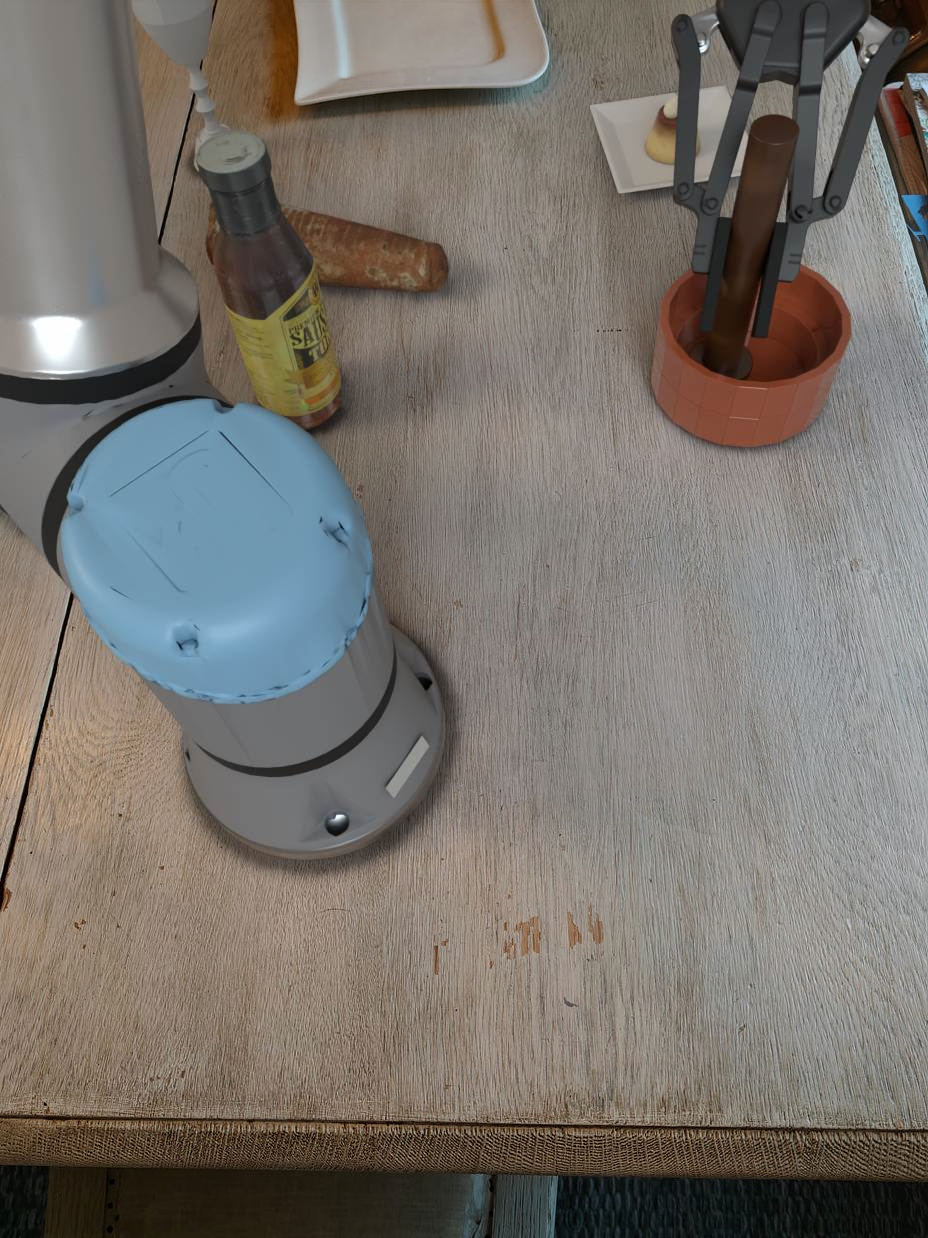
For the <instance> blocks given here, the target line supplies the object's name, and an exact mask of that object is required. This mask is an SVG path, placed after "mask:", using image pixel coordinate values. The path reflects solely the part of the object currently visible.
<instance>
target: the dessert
mask: <svg viewBox="0 0 928 1238" xmlns="http://www.w3.org/2000/svg"><path fill="white" fill-rule="evenodd" d="M731 101H732V97H731V96H730V93H729V91H728V89H727V86H726V85H725V84H724V85H717V86H710V87H704V88H700V92H699V108H698V125H697V141H696V158H695V175H694V184H696V183H703V182H708V179H709V176H710V173H711V169H712V166H713V162H714V159H715V155H716V152H717V149H718V145H719V142H720V138H721V135H722V132H723V128H724V125H725V121H726V118H727V115H728V111H729V108H730V104H731ZM677 107H678V91H677V90H674V92H670V93H663V94H662V93H661V94H656V95H650V96H649V95H648V96H643V97H635V98H628V99H622V100H615V101H608V102H601V103H594V104H590V105H589V109H590V112H591V115H592V119H593V121H594V124H595V127H596V130H597V133H598V136H599V140H600V142H601V145H602V148H603V150H604V154H605V157H606V160H607V162H608V163H607V164H608V167H609V169H610V172H611V175H612V178H613V181H614V184H615V188H616V191H617V193H618V194H621V195H622V194H628V193H635V192H643V191H648V190H649V191H650V190H655V189H662V188H669V187H673V179H674V161H675V143H676V125H677ZM748 136H749V134H748V133H747V130H746V129H745V131H744V134H743V137H742V141H741V144H740V147H739V151H738V154H737V157H736V161H735V164H734V167H733V171H732V174H731V178H736V177H740V174H741V170H742V165H743V160H744V155H745V151H746V146H747V141H748Z"/></svg>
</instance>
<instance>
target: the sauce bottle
mask: <svg viewBox="0 0 928 1238" xmlns="http://www.w3.org/2000/svg"><path fill="white" fill-rule="evenodd" d="M196 163H197V166H198V169H199V171H198V173H199V175H200V178H201V181H202V183H203V184H204V185H205V186H206V187H207V190H208V192H209V196H210V198H211V202H212V201H213V204H214V208H215V211H216V219H217V222H218V224H219V226H220V227H219V233H218V234H217V235H216V236H215V242H214V249H213V263H214V265H213V268H214V272H215V275H216V278H217V282H218V284H219V288H220V291H221V297H222V301H223V305H224V307H225V309H226V314H227V316H228V319H229V321H230V324H231V327H232V329H233V333H234V335H235V338H236V342H237V345H238V348H239V351H240V353H241V356H242V360H243V362H244V365H245V368H246V371H247V374H248V376H249V377H248V378H249V381H250V383H251V385H252V388H253V391H254V395H255V397H256V400H257V402H258V403H259V405H261V407H263V408H266V409H269V410H271V411H273V412H275V413H277V414H279V415H281V416H283V417H286V418H287V419H289V420H291V421H292V422H294V423H296V424H297V425H298V426H300V427H301V428H302V429H304V430H305V431H306V430H309V429H313V428H316V427H317V426H319V425H322V424H323V423H325V422H326V421H327V420H328V419H330V418H331V417H332V416H333V415H334V414H335V413H336V412H337V411H338V409H339V406H340V405H341V402H342V396H343V395H342V374H341V371H340V367H339V362H338V358H337V354H336V349H335V345H334V340H333V337H332V333H331V327H330V323H329V320H328V316H327V311H326V306H325V303H324V298H323V294H322V290H321V286H320V285H321V284H319V281H318V277H317V272H316V267H315V264H314V260H313V256H312V254H311V253H310V252H309V251H308V249H307V248H306V246H305V245H304V243H303V242H302V240H301V239H300V237H299V236H298V234H297V233H296V231H295V230H294V228H293V227H292V226H291V224H290V223H289V221H288V220H287V218H286V217H285V215H284V214H283V212H282V211H281V205H280V204H281V203H280V201H279V199H278V197H277V193H276V190H275V184H274V181H273V178H272V167H273V165H272V160H271V157H270V154H269V150H268V147H267V144H266V142H265V140H264V139H263V138H261V137H260V136H259V135H257V134H255V133H254V132H251V131H247V130H237V129H236V130H234V131H228V132H223V133H221V134H218V135H215V136H213V137H211V138H209V139H207V140H206V141H205V142H204V143H203V144H202V145H201V146H200V147H199V149H198V152H197V154H196Z"/></svg>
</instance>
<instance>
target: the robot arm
mask: <svg viewBox="0 0 928 1238" xmlns="http://www.w3.org/2000/svg"><path fill="white" fill-rule="evenodd" d="M714 3H715V4H714V5H713V6H710V7H708V8H706V9H704V10H702V11H700V12H697V13H695V14H693V15H691V16H690V15H688V14H686V13H679V14H677V15H676V16H675V17H674V18H673V19H672V21H671V25H670V43H671V48H672V51H673V54H674V58H675V61H676V62H675V63H676V65H677V68H678V71H679V73H678V90H677V92H678V107H677V125H676V143H675V161H674V179H673V186H672V201H673V203H674V204H676V205H677V206H680V207H683V208H686V209H687V210H689V211H690V212H692V213H693V214H694V215H695V217H696V219H697V225H696V232H695V236H694V237H695V238H694V243H693V249H692V256H691V261H690V268H691V267H692V272H693V273H694V274H704V275H708V278H707V283H706V289H705V295H704V301H703V307H702V312H701V318H700V324H699V330H698V331H699V332H708V333H711V332H712V330H713V324H714V319H715V313H716V307H717V302H718V296H719V290H720V285H721V279H722V273H723V268H724V262H725V256H726V251H727V245H728V239H729V234H730V228H731V222H732V218H731V217H728V216H721V214H722V213H721V212H722V207H723V204H724V200H725V197H726V194H727V191H728V187H729V184H730V180H731V178H732V177H731V174H732V171H733V167H734V164H735V161H736V157H737V154H738V151H739V147H740V144H741V141H742V137H743V134H744V131H745V130H746V128H747V123H748V122H749V121H748V120H749V117H750V113H751V111H752V107H753V104H754V100H755V97H756V94H757V90H758V88H759V85H760V84H766V83H771V82H775V81H778V82H781V83H784V84H786V85H788V86H792V97H791V104H792V111H791V112H792V113H791V119H793V120H794V121H795V122H796V123H797V124H798V126H799V129H800V133H799V137H798V141H797V144H796V148H795V152H794V156H793V160H792V164H791V167H790V171H789V175H788V179H787V185H786V186H787V187H786V205H785V221H776V224H775V228H774V232H773V236H772V240H771V244H770V247H769V251H768V255H767V259H766V263H765V267H764V270H763V274H762V279H761V285H760V290H759V295H758V301H757V306H756V311H755V317H754V322H753V327H752V333H751V337H753V338H762V339H763V338H767V336H768V331H769V325H770V320H771V315H772V310H773V305H774V299H775V294H776V289H777V284H778V282H784V283H792V282H794V280H795V278H796V277H797V275H798V273H799V269H800V264H802V259H803V253H804V249H805V243H806V239H807V233H808V229H809V228H810V226H811V225H812V224H814V223H816V222H817V223H818V222H821V221H825V220H830V219H833V218H835V216H837V215H838V214H839V213H840V212H842V211H843V210H844V209H845V207H846V205H847V202H848V198H849V196H850V193H851V189H852V186H853V183H854V180H855V176H856V173H857V170H858V167H859V165H860V161H861V158H862V155H863V151H864V148H865V145H866V143H867V139H868V136H869V133H870V129H871V127H872V123H873V120H874V117H875V113H876V110H877V107H878V104H879V101H880V99H881V96H882V95H881V94H882V92H883V89H884V85H885V83H886V79H887V77H888V74H889V73H890V71H891V69H892V68H893V67H894V65H896V62H897V61H898V59H899V58H900V56H901V55H902V54H903V52H904V51H905V49H906V48H907V46H908V45H909V43H910V41H911V34H910V31H909V29H908V28H907V27H905V26H896V27H893V28H891V27H890V26H888V25H887V24H886V23H884V22H882V21H881V20H879V19H878V18H876V17H875V16H873V15H871V10H872V3H871V0H715V2H714ZM135 29H136V28H135V21H134V12H133V9H132V2H131V0H0V511H2V512H3V513H4V514H6V515H7V516H9V517H10V518H11V520H13V522H14V523H15V524H16V526H17V527H18V528H19V529H20V530H21V532H22V533H23V534H24V535H25V536H26V538H27V539H28V540H29V541H30V543H31V544H32V545H33V547H35V549H36V550H37V551H38V553H40V555H41V556H42V557H43V558H44V560H45V561H46V562H47V564H48V565H49V566H50V567H51V568H52V570H53V571H54V572H55V573H56V574H57V576H58V577H59V578H60V579H61V580H62V582H63V583H64V584H65V586H66V587H67V588H68V589H69V591H70V592H71V594H72V595H73V597H75V599H76V600H77V601H78V603H80V608H81V612H82V613H83V615H84V616H85V618H86V620H87V621H88V624H89V625H90V627H91V628H92V629H93V630H94V631H95V633H96V634H97V636H98V637H99V639H101V640H100V641H102V643H103V644H105V646H106V647H107V648H108V649H109V650H110V651H111V652H112V653H113V654H114V655H115V656H116V657H117V658H118V659H119V661H122V662H123V663H124V664H125V665H126V666H128V667H131V669H132V670H133V671H134V672H135V673H136V675H137V676H138V677H139V678H140V679H141V680H142V682H143V683H144V684H145V685H146V687H147V688H148V689H149V690H150V691H151V693H152V694H153V695H154V696H155V698H156V699H157V700H158V701H159V702H160V703H161V704H162V706H163V707H164V708H165V709H166V710H167V712H168V713H169V714H170V715H171V717H172V718H173V719H174V720H175V721H176V722H177V723H178V725H179V726H180V727H181V728H182V753H183V762H184V766H185V771H186V774H187V777H188V780H189V782H190V786H191V787H192V788H193V791H194V793H195V796H196V797H197V798H198V800H199V801H200V803H201V804H202V806H203V807H204V808H205V809H206V811H207V812H208V813H209V815H211V817H212V818H213V819H214V820H215V821H216V822H217V823H218V824H219V825H220V826H221V827H222V828H223V829H224V830H225V831H226V832H227V833H229V834H230V835H231V836H233V838H235V839H236V840H238V841H239V842H241V843H243V844H245V846H248V847H250V848H252V849H254V850H256V851H258V852H260V853H264V854H266V855H270V856H273V857H277V858H282V859H287V860H288V859H289V860H296V861H301V860H302V861H313V860H315V861H316V860H325V859H330V858H331V859H332V858H337V857H341V856H343V855H347V854H351V853H354V852H356V851H359V850H361V849H363V848H366V847H367V846H370V845H371V844H374V843H375V842H377V841H379V840H380V839H382V838H384V837H385V836H387V835H388V834H389V833H392V831H394V830H395V829H397V827H398V826H400V825H401V824H402V823H403V822H404V821H405V820H406V819H407V818H408V817H409V816H410V815H411V814H412V813H413V812H414V811H415V810H416V809H417V808H418V806H419V805H420V803H421V802H422V801H423V799H424V798H425V796H426V795H427V793H428V792H429V789H430V788H431V786H432V784H433V782H434V780H435V778H436V776H437V774H438V770H439V768H440V765H441V763H442V758H443V755H444V750H445V744H446V734H447V733H446V732H447V731H446V730H447V728H446V727H447V726H446V725H447V724H446V714H445V707H444V702H443V698H442V697H443V696H442V692H441V689H440V685H439V682H438V679H437V677H436V674H435V672H434V669H433V668H432V666H431V664H430V662H429V660H428V659H427V658H426V655H424V653H423V651H422V650H421V649H420V648H419V647H418V645H417V644H415V642H414V641H413V640H412V639H410V637H409V636H407V634H405V633H404V632H402V631H401V630H400V629H399V628H397V627H396V626H394V625H393V623H390V621H389V618H388V613H387V610H386V606H385V602H384V598H383V595H382V592H381V587H380V583H379V580H378V576H377V572H376V568H375V564H374V555H373V548H372V544H371V542H370V533H369V530H368V528H367V526H366V524H365V518H364V514H363V512H362V508H361V507H360V506H361V505H360V504H359V503H358V501H356V500H355V498H354V495H353V491H352V489H351V487H350V486H349V485H348V483H347V482H346V480H345V477H344V475H343V474H342V471H341V470H340V468H339V466H338V465H337V463H336V462H335V461H334V459H333V458H332V457H331V455H330V454H329V453H328V451H327V450H326V449H325V448H324V447H323V446H322V444H321V443H320V442H319V441H318V440H317V439H316V438H315V437H314V436H313V435H311V434H310V433H309V432H307V431H306V430H304V429H302V428H301V427H300V426H298V425H297V424H296V423H294V422H292V421H291V420H289V419H287V418H286V417H283V416H281V415H279V414H277V413H275V412H273V411H271V410H269V409H266V408H263V407H262V405H261V406H260V405H257V404H254V403H249V402H246V401H239V402H237V404H236V405H234V404H233V403H232V402H231V401H230V400H229V399H228V398H227V397H226V396H225V395H224V394H223V393H222V392H221V391H220V390H218V388H217V387H215V386H214V384H213V383H212V381H211V378H210V376H209V374H208V371H207V368H206V363H205V353H204V352H205V351H204V342H203V341H204V340H203V328H202V319H201V318H202V317H201V308H200V307H201V306H200V297H199V296H200V295H199V290H198V286H197V283H196V280H195V277H194V276H193V274H192V272H191V271H190V270H189V268H188V267H187V266H186V264H184V262H183V261H181V260H180V259H179V258H178V257H177V256H176V255H174V253H172V252H170V251H169V250H167V249H166V248H165V247H163V246H161V245H160V243H159V234H158V226H157V217H156V209H155V200H154V199H155V198H154V190H153V189H154V188H153V182H152V181H153V180H152V173H151V165H150V164H151V163H150V154H149V146H148V137H147V128H146V119H145V111H144V101H143V93H142V84H141V82H142V81H141V74H140V65H139V56H138V48H137V47H138V46H137V39H136V30H135ZM717 30H718V31H719V34H720V35H721V37H722V40H723V41H724V44H725V46H726V48H727V50H728V52H729V54H730V56H731V59H732V61H733V62H734V64H735V68H736V69H737V71H738V72H739V73H738V77H737V81H736V84H735V88H734V91H733V94H732V97H731V100H732V101H731V104H730V108H729V111H728V115H727V118H726V121H725V125H724V128H723V132H722V135H721V138H720V142H719V145H718V149H717V152H716V155H715V159H714V162H713V166H712V169H711V173H710V176H709V179H708V181H707V182H706V183H707V184H706V187H705V188H704V187H702V186H700V185H697V184H696V183H694V175H695V158H696V141H697V125H698V108H699V92H700V89H701V76H702V75H701V74H702V73H701V72H702V58H703V57H705V56H706V55H707V54H708V53H709V51H710V50H711V45H712V44H711V43H712V35H713V34H714V33H715V31H717ZM855 38H856V39H857V41H858V42H859V45H860V46H859V51H858V53H857V56H856V61H857V65H858V66H859V67H860V68H861V69H863V71H862V72H861V74H860V76H859V78H858V79H857V81H856V85H855V88H854V89H853V90H854V91H853V94H852V97H851V99H850V103H849V107H848V109H847V112H846V116H845V120H844V122H843V126H842V129H841V133H840V136H839V139H838V142H837V144H836V145H837V146H836V149H835V152H834V155H833V158H832V162H831V165H830V167H829V171H828V175H827V177H826V181H825V184H824V187H823V190H822V194H821V195H820V196H817V197H814V189H815V175H816V174H815V173H816V161H817V160H816V159H817V146H818V144H817V143H818V134H819V133H818V131H819V120H820V119H819V118H820V107H821V105H820V104H821V94H822V88H823V81H824V73H825V72H826V70H828V68H829V67H830V66H831V65H832V64H833V63H834V62H835V60H837V58H838V57H839V56H840V55H841V54H842V53H843V52H844V50H845V49H846V48H847V47H848V46H849V45H850V44H851V43H852V41H853V40H854V39H855Z"/></svg>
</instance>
